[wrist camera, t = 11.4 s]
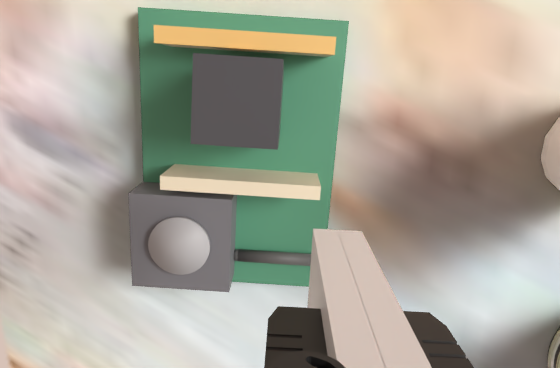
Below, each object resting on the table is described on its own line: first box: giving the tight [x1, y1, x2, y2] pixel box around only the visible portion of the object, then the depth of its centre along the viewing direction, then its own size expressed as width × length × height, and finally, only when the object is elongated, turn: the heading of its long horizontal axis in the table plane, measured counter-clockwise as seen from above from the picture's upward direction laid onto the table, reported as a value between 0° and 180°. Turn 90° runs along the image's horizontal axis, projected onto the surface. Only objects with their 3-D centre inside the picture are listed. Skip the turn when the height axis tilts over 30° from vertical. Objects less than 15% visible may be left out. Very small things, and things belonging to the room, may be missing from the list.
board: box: [128, 7, 349, 292], centre depth 24 cm, size 17×12×5 cm
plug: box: [190, 53, 284, 150], centre depth 21 cm, size 4×4×6 cm
